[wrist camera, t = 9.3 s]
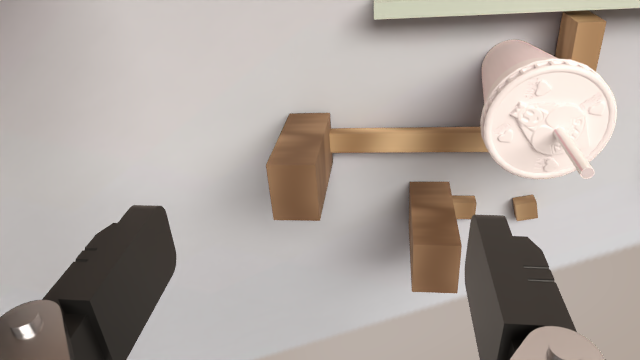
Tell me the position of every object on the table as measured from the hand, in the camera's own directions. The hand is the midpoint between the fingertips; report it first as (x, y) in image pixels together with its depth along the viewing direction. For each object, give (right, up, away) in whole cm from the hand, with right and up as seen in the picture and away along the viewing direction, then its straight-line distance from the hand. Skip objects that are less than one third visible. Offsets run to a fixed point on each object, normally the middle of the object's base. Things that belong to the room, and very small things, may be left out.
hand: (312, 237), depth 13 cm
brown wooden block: (+12, 0, +26) cm, 28 cm away
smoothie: (+13, +9, +20) cm, 26 cm away
